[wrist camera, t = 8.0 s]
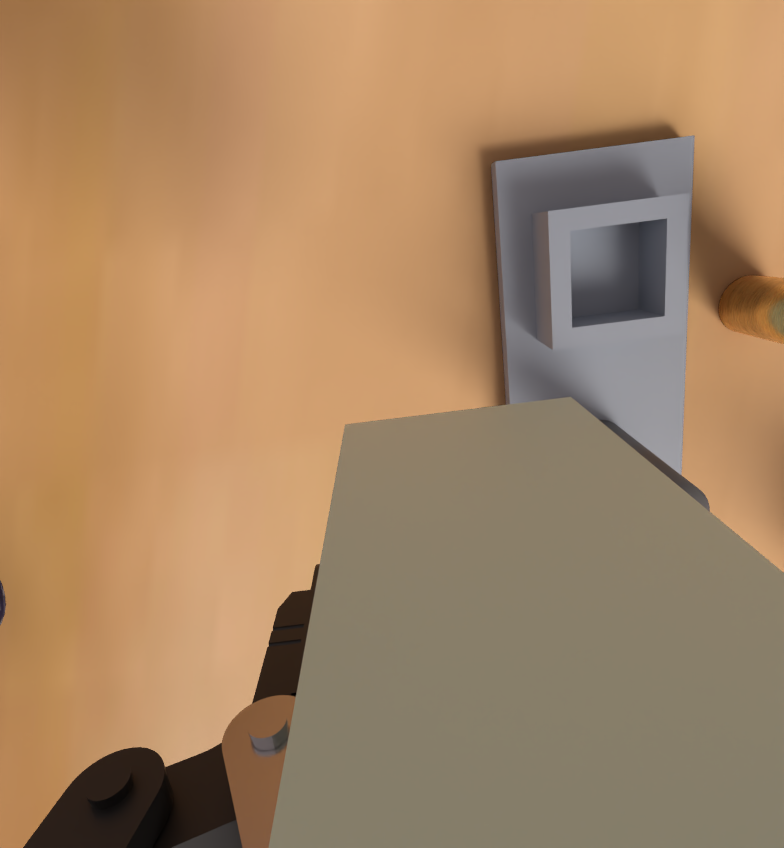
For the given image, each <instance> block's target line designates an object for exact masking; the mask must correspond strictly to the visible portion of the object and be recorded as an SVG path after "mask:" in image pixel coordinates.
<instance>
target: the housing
mask: <svg viewBox="0 0 784 848" xmlns="http://www.w3.org/2000/svg"><path fill="white" fill-rule="evenodd" d="M269 848H784V573H783V572H782V571H781V570H780V569H778V568H777V567H776V566H775V565H774V564H772V563H771V562H770V561H769V560H768V559H766V558H765V557H764V556H763V555H761V554H760V553H759V552H758V551H757V550H755V549H754V548H753V547H752V546H751V545H749V544H748V543H747V542H746V541H745V540H743V539H742V538H741V537H740V536H739V535H737V534H736V533H735V532H734V531H732V530H731V529H730V528H729V527H728V526H726V525H725V524H724V523H723V522H722V521H720V520H719V519H718V518H717V517H716V516H714V515H713V514H712V513H711V512H710V511H708V510H707V509H706V508H705V507H703V506H702V505H701V504H700V503H699V502H697V501H696V500H695V499H694V498H693V497H691V496H690V495H689V494H688V493H687V492H685V491H684V490H683V489H682V488H680V487H679V486H678V485H677V484H676V483H674V482H673V481H672V480H671V479H670V478H668V477H667V476H666V475H665V474H664V473H662V472H661V471H660V470H659V469H658V468H656V467H655V466H654V465H653V464H651V463H650V462H649V461H648V460H647V459H645V458H644V457H643V456H642V455H641V454H639V453H638V452H637V451H636V450H635V449H633V448H632V447H631V446H630V445H629V444H627V443H626V442H625V441H624V440H622V439H621V438H620V437H619V436H618V435H616V434H615V433H614V432H613V431H612V430H610V429H609V428H608V427H607V426H606V425H604V424H603V423H602V422H601V421H600V420H598V419H597V418H596V417H595V416H593V415H592V414H591V413H590V412H589V411H587V410H586V409H585V408H584V407H583V406H581V405H580V404H579V403H578V402H577V401H575V400H574V399H573V398H572V397H565V398H557V399H549V400H541V401H533V402H525V403H516V404H508V405H500V406H492V407H484V408H476V409H468V410H459V411H451V412H443V413H435V414H427V415H419V416H411V417H402V418H394V419H386V420H378V421H370V422H362V423H354V424H345V428H344V434H343V439H342V445H341V450H340V456H339V461H338V467H337V472H336V478H335V483H334V489H333V494H332V500H331V505H330V511H329V516H328V522H327V528H326V533H325V539H324V544H323V550H322V555H321V561H320V566H319V572H318V577H317V583H316V588H315V594H314V599H313V605H312V610H311V616H310V621H309V627H308V632H307V638H306V644H305V649H304V655H303V660H302V666H301V671H300V677H299V682H298V688H297V693H296V699H295V704H294V710H293V715H292V721H291V726H290V732H289V737H288V743H287V749H286V754H285V760H284V765H283V771H282V776H281V782H280V787H279V793H278V798H277V804H276V809H275V815H274V820H273V826H272V831H271V837H270V842H269Z"/></svg>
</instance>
